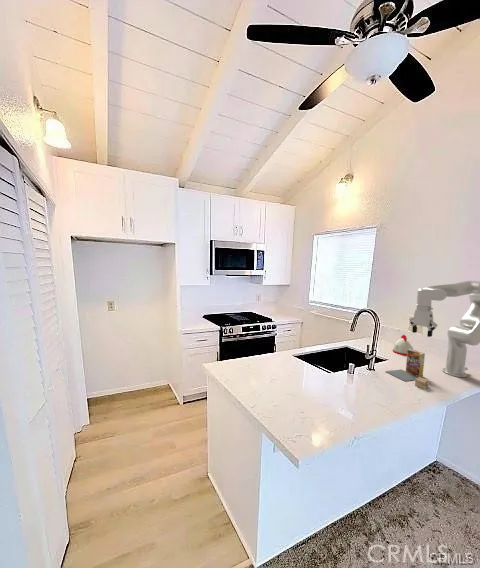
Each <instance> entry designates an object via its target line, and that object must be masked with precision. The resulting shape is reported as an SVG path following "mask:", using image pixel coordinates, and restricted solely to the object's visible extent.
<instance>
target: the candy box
mask: <svg viewBox="0 0 480 568" xmlns="http://www.w3.org/2000/svg"><path fill="white" fill-rule="evenodd" d="M425 355H426V353H424V352H421V351H418V350H416V349H415V350H414V349H413V350H412V349H409V350H407V356H406V363H405V371H406V372H408V373H411V374H413V375H415V376H417V377H420V378H422V377H423V375H424V365H425V357H426V356H425Z"/></svg>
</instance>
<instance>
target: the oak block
mask: <svg viewBox="0 0 480 568" xmlns="http://www.w3.org/2000/svg"><path fill="white" fill-rule="evenodd" d="M429 381H430V380H428V379H426V378H423V377H419V378H417V379H415V380H414V382H415V383H414V386H416V387H417V388H418V387H419V388H421V389H424V390H425V389H427V388H429V385H430V382H429Z"/></svg>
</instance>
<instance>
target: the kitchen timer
mask: <svg viewBox="0 0 480 568" xmlns="http://www.w3.org/2000/svg"><path fill="white" fill-rule="evenodd" d="M409 349H412V350H414V347H413V345H411V343H410V342H409V341H408V338H407V336H406V335H405V334H402V335H401V336H400V339H398V340H397V341H396V342H395V343H393V348H392V352H393V353H394V354H396V353H397V355H399V354H400V356H406V357H407V350H409Z"/></svg>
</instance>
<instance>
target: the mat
mask: <svg viewBox="0 0 480 568" xmlns="http://www.w3.org/2000/svg"><path fill="white" fill-rule="evenodd" d="M385 373H387V374H389V375H390V376H392V377H395V378H397V379H398V380H401V381H403V382H410V381H415V379H417V378H419V377H418V376H415V375H413V374H411V373H408V372H406V370H404V369H401V368H400V369H395V370H386V371H385Z"/></svg>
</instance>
